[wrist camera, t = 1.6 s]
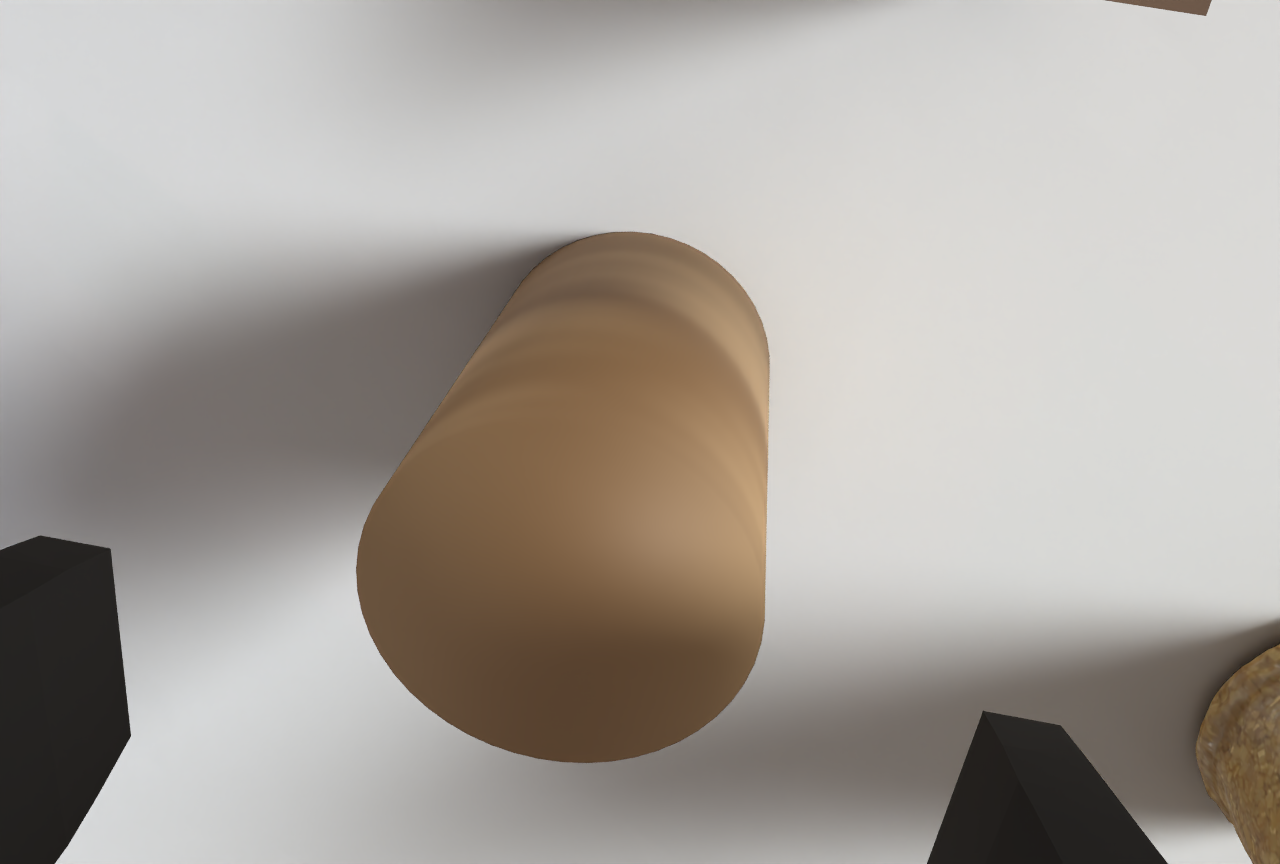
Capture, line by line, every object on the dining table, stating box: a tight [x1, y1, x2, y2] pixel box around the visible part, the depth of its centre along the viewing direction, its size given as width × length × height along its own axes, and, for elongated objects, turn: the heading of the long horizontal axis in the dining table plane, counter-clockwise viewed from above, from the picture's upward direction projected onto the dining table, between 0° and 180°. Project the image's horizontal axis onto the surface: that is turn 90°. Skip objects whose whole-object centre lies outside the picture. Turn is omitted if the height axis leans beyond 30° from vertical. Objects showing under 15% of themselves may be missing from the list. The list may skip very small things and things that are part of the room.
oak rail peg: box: [356, 232, 769, 763], centre depth 13 cm, size 4×4×6 cm
